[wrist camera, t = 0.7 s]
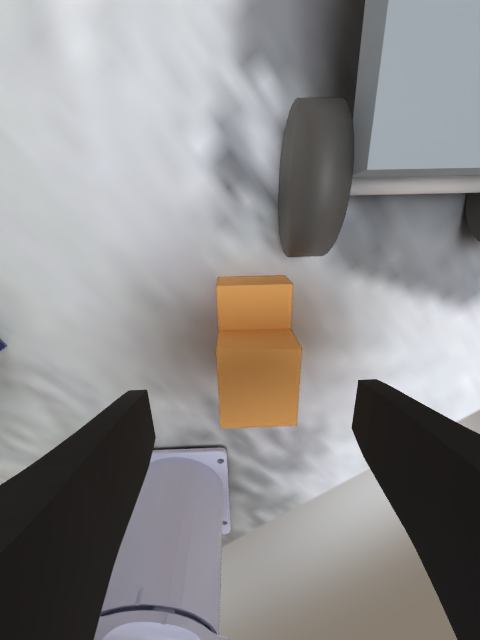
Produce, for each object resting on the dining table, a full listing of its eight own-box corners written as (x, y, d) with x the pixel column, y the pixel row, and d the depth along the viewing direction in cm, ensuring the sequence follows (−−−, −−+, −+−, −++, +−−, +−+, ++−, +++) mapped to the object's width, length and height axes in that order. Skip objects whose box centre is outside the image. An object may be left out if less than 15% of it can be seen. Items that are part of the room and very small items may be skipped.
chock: (280, 374, 19) (296, 425, 14) (223, 376, 19) (220, 428, 14) (284, 274, 16) (305, 296, 12) (218, 276, 16) (213, 299, 12)
